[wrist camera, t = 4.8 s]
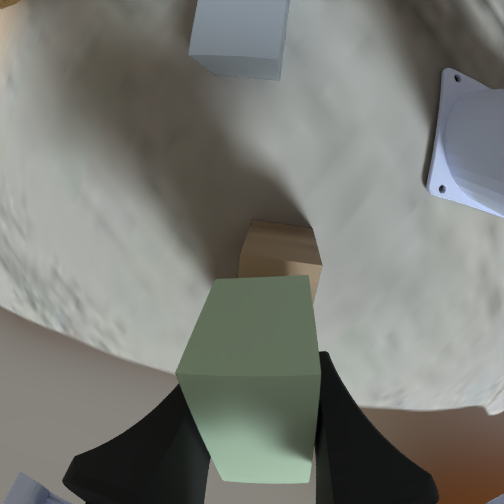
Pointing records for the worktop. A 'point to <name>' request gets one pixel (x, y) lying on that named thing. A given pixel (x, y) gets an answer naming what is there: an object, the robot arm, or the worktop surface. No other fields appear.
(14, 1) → the potato
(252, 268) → the walnut brick
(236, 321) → the green brick
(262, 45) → the slate brick
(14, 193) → the worktop surface
